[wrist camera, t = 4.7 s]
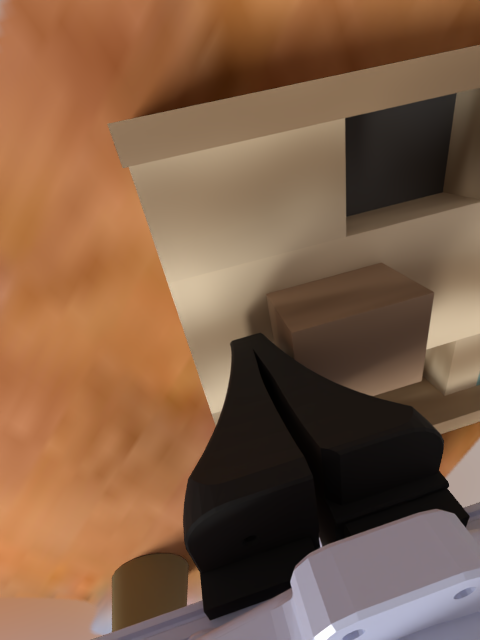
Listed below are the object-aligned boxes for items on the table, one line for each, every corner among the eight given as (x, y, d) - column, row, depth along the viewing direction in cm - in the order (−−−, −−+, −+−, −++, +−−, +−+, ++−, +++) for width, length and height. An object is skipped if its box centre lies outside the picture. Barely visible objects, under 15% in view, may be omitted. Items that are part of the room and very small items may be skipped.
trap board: (507, 351, 22) (571, 391, 18) (224, 439, 20) (237, 500, 17) (613, 23, 13) (775, -19, 10) (123, 127, 11) (107, 123, 8)
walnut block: (378, 340, 15) (421, 381, 13) (278, 369, 15) (302, 417, 12) (381, 262, 13) (434, 292, 11) (265, 294, 13) (291, 332, 10)
